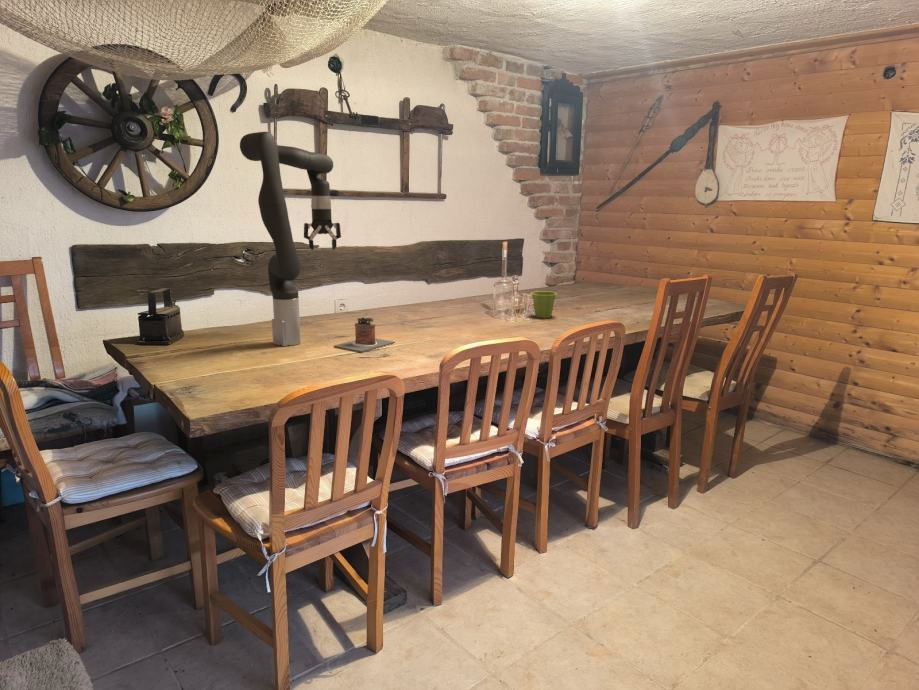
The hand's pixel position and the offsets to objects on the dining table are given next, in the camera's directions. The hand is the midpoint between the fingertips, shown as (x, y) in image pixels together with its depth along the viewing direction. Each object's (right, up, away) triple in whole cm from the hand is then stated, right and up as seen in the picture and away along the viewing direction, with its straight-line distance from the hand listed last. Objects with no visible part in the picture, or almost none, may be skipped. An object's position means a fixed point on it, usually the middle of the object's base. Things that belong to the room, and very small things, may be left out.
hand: (323, 249), depth 249 cm
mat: (+19, -38, -16) cm, 46 cm away
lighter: (+19, -38, -16) cm, 45 cm away
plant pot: (+93, -25, +41) cm, 104 cm away
